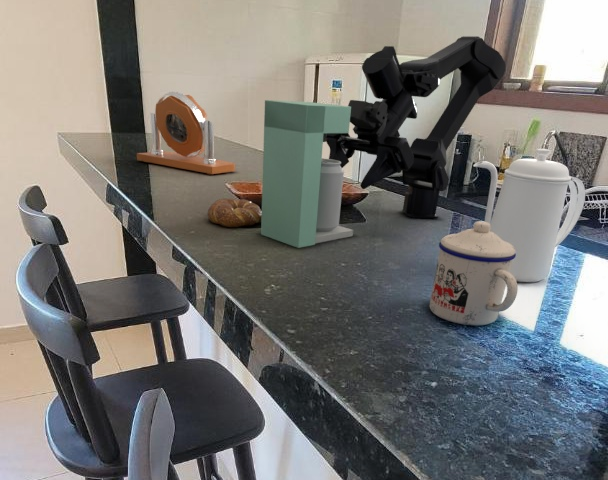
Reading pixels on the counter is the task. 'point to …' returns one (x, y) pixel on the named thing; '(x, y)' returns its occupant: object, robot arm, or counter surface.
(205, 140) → the desk clock
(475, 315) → the teacup with lid
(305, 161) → the coffee maker
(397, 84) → the robot arm
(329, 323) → the counter surface
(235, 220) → the pretzel
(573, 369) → the counter surface
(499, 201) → the coffeepot
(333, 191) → the can
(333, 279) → the counter surface
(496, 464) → the counter surface
